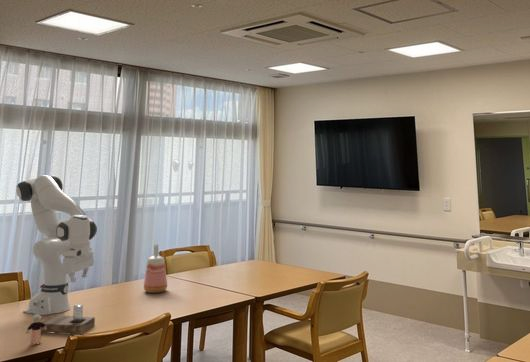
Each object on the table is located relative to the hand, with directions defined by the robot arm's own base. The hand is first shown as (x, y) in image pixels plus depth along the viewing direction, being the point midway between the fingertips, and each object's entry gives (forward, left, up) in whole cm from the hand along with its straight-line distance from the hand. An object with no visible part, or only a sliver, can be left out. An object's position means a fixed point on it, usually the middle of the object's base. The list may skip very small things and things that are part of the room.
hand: (78, 279), depth 195 cm
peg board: (-5, 0, -23) cm, 24 cm away
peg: (0, 0, -22) cm, 22 cm away
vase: (+10, +71, -23) cm, 75 cm away
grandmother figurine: (-7, -19, -23) cm, 31 cm away
